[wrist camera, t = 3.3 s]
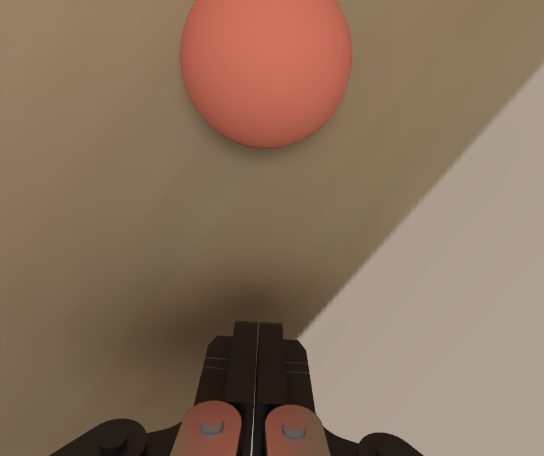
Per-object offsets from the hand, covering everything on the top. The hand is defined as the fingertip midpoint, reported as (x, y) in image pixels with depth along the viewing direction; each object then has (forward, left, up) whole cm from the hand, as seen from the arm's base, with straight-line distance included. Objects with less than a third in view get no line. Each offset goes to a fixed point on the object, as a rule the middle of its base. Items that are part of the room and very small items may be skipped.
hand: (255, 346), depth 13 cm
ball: (+6, +6, -3) cm, 9 cm away
